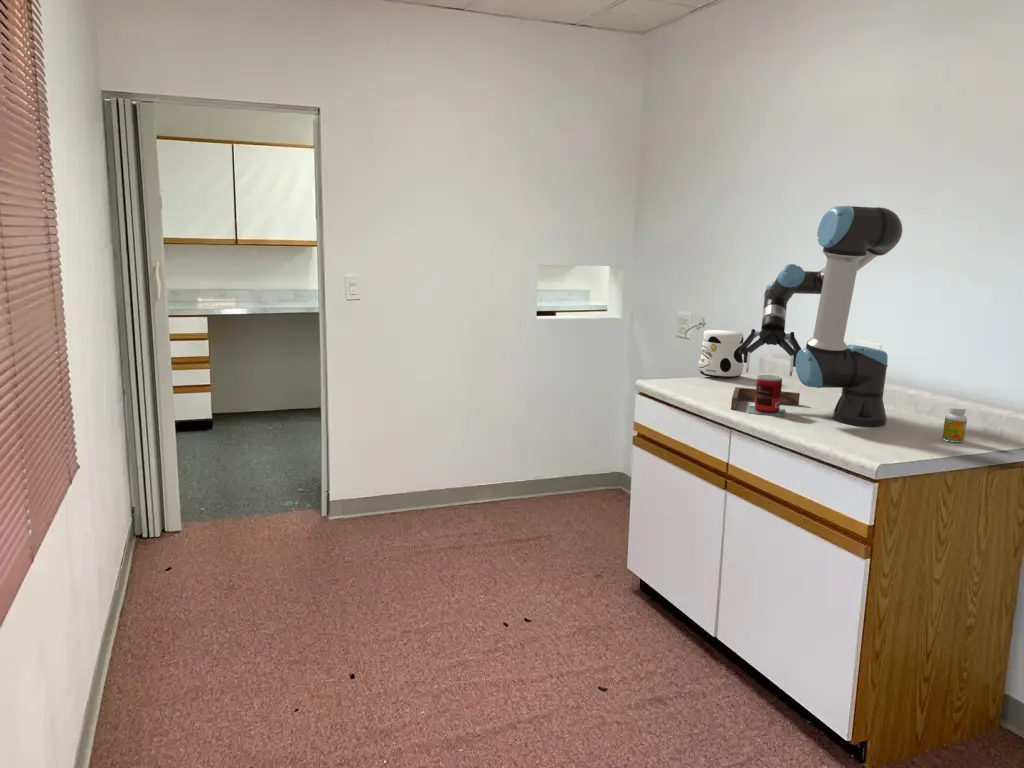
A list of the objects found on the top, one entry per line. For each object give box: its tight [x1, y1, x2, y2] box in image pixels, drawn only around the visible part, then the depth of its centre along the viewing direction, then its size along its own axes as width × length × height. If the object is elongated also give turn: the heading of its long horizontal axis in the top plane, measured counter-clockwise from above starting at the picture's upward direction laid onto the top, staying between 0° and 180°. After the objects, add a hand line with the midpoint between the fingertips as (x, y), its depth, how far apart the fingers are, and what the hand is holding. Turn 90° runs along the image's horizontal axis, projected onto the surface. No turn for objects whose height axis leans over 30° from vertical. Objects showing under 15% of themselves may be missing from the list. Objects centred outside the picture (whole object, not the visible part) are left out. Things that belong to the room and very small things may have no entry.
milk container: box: [698, 329, 744, 380], centre depth 304 cm, size 17×17×18 cm
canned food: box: [754, 374, 783, 413], centre depth 245 cm, size 8×8×11 cm
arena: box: [730, 386, 801, 418], centre depth 251 cm, size 21×22×4 cm
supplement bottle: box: [941, 405, 968, 443], centre depth 216 cm, size 5×5×10 cm
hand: (768, 371), depth 249 cm, fingers open, 13 cm apart
